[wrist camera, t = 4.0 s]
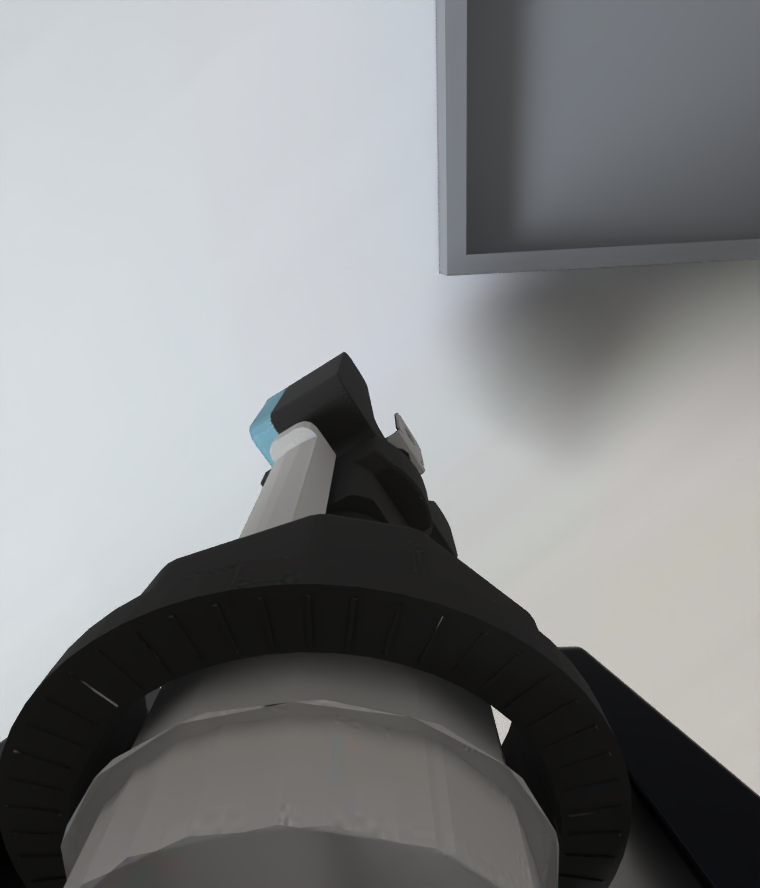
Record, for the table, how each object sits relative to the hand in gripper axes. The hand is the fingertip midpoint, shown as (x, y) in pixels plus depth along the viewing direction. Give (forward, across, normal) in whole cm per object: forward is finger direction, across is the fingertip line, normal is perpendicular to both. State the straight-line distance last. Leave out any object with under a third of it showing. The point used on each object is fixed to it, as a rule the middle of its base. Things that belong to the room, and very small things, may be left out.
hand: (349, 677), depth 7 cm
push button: (+7, 0, 0) cm, 7 cm away
